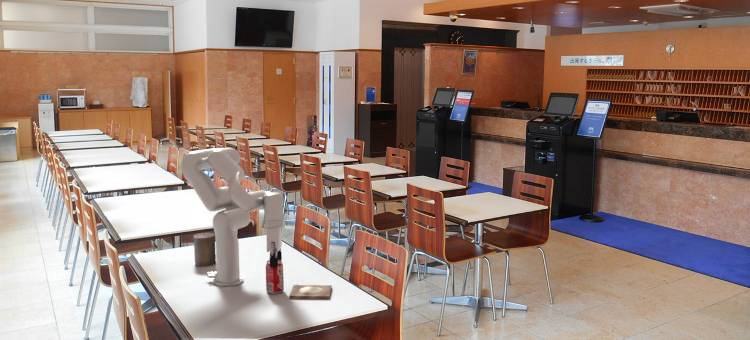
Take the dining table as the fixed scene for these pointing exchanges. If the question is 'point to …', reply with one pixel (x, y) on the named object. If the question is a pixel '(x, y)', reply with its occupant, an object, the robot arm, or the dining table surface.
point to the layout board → (310, 292)
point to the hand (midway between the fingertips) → (275, 263)
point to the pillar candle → (204, 249)
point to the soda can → (274, 278)
